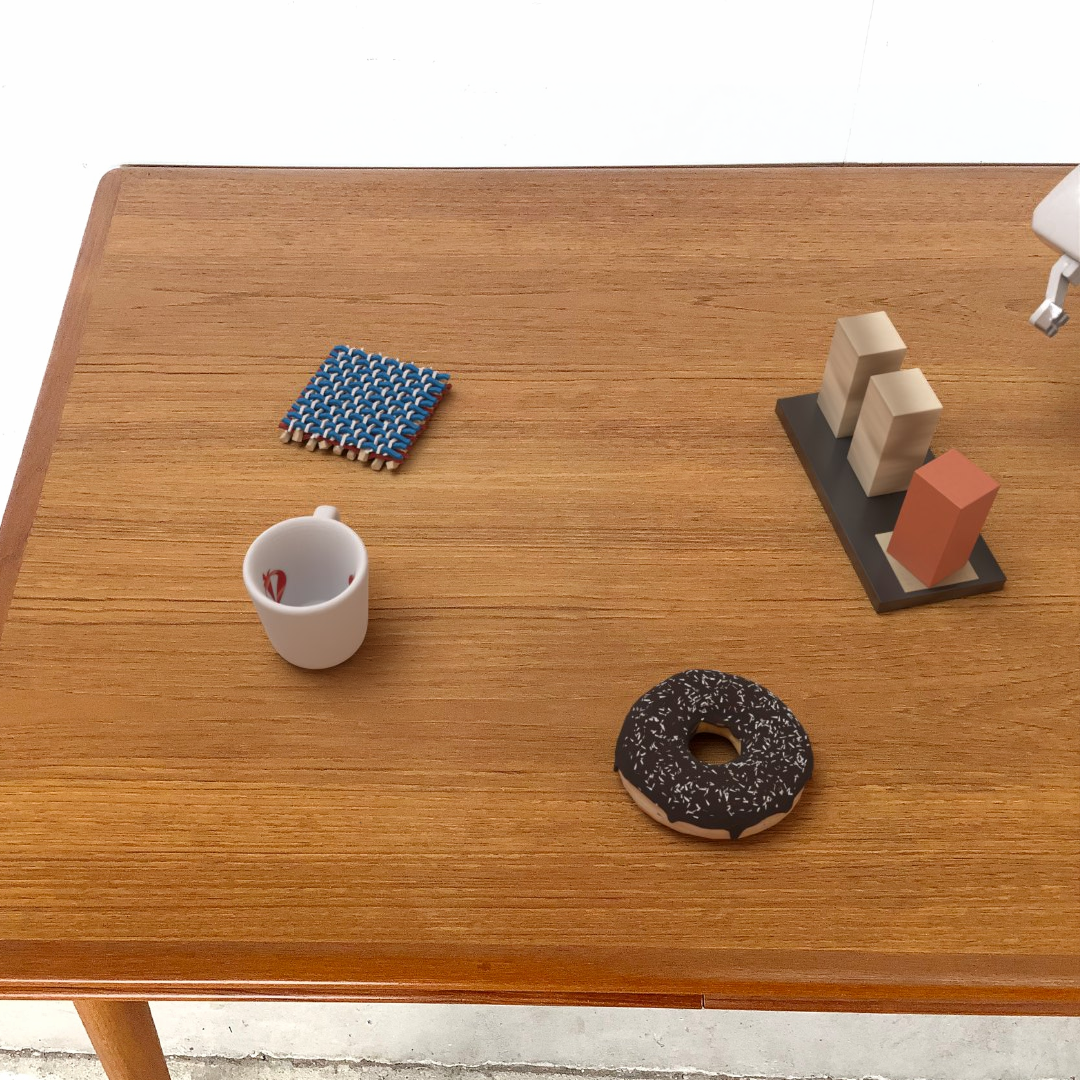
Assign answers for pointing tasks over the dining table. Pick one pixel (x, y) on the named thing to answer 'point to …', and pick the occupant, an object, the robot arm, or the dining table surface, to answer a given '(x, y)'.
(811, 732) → the dining table surface
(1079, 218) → the robot arm
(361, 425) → the woven mat
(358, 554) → the cup
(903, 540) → the terracotta rectangular block
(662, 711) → the donut
